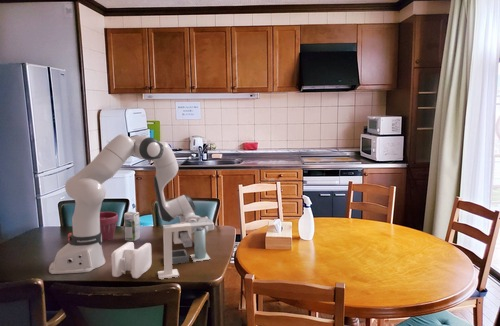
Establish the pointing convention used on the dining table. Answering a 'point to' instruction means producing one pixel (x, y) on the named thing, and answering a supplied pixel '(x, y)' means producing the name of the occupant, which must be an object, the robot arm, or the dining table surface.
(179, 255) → the socket collar
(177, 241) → the stand
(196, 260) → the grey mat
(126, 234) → the syrup box
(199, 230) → the pale blue bottle
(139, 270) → the cable organizer
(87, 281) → the dining table surface
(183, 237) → the bolt
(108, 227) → the plant pot
